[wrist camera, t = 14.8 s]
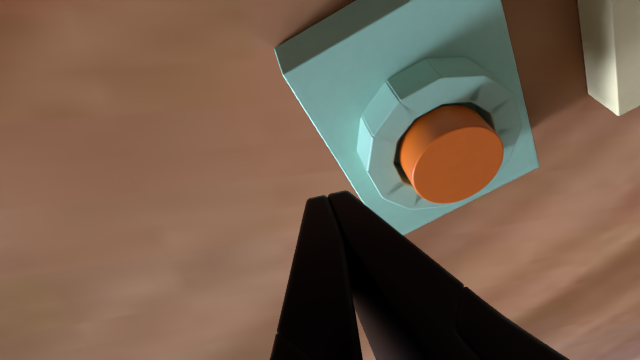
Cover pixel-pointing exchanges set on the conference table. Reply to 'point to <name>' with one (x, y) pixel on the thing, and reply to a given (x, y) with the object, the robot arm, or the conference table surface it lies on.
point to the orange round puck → (450, 154)
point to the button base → (406, 91)
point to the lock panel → (612, 51)
